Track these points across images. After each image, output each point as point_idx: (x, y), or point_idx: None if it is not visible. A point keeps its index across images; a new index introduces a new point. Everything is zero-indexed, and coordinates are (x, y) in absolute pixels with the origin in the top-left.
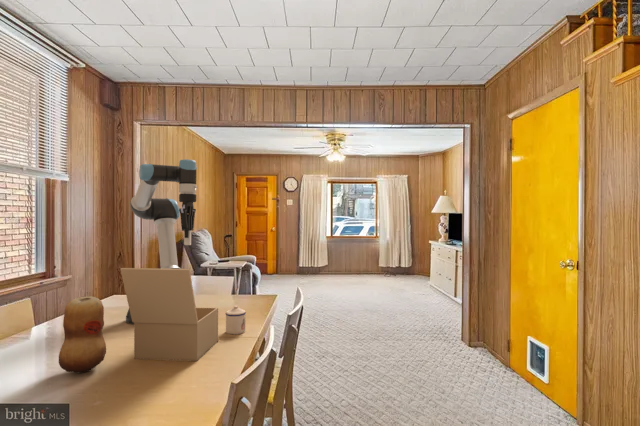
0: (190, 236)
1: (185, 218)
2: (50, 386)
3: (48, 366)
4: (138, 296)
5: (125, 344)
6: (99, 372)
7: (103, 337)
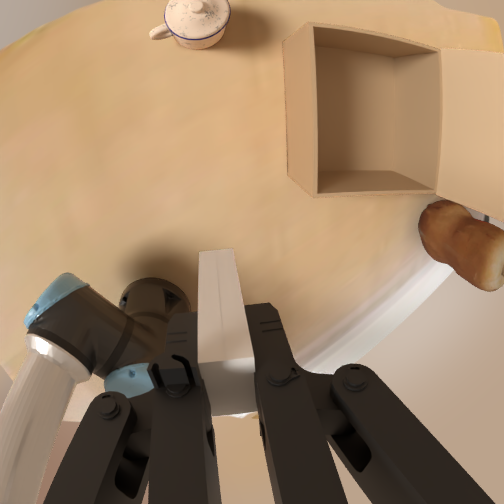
0: (221, 302)
1: (482, 494)
2: None
3: (408, 278)
4: (499, 188)
5: (322, 236)
6: (434, 195)
7: (448, 219)
